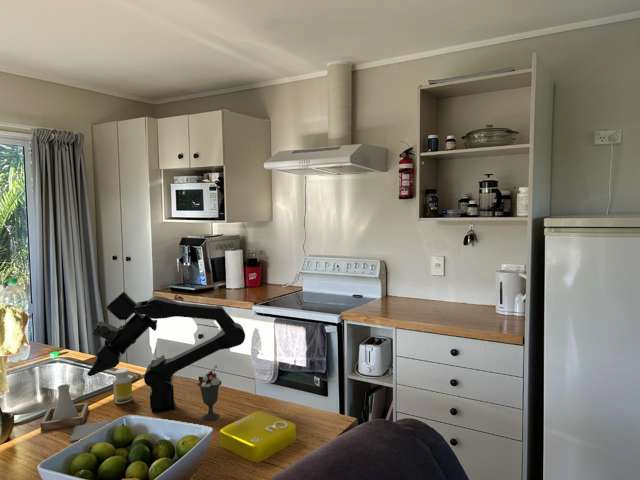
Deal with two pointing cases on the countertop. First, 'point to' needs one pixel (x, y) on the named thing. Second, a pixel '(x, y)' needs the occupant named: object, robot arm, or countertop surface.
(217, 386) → the sundae
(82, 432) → the rubber mat
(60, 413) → the flask
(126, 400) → the supplement bottle
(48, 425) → the walnut well
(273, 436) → the element tile
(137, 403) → the countertop surface
